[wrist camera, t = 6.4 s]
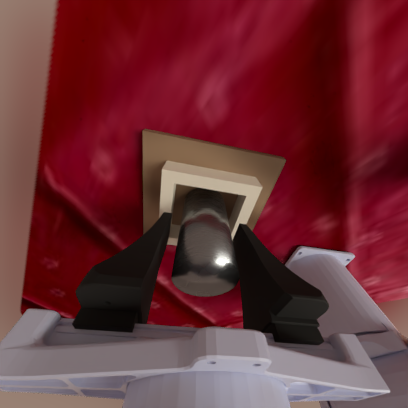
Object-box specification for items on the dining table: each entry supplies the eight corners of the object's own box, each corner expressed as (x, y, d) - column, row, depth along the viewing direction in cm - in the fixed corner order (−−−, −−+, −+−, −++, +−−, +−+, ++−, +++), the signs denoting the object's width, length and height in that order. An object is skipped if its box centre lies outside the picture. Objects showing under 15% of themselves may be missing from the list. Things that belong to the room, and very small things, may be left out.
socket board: (240, 247, 21) (245, 266, 19) (145, 234, 20) (137, 253, 17) (282, 156, 15) (297, 168, 12) (145, 128, 13) (133, 135, 11)
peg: (216, 223, 18) (225, 300, 11) (180, 215, 17) (166, 291, 10) (230, 192, 16) (250, 264, 9) (189, 181, 15) (179, 250, 8)
